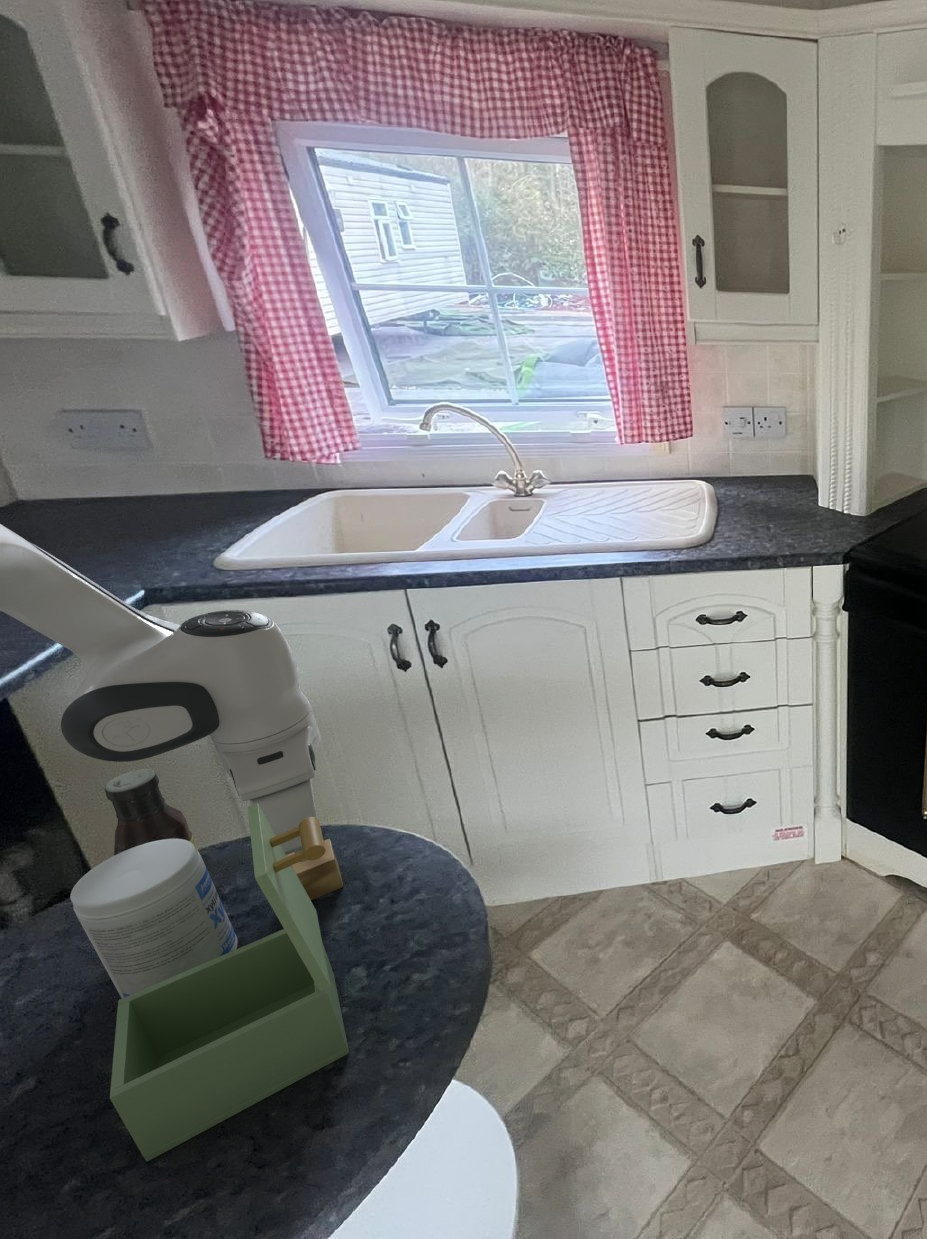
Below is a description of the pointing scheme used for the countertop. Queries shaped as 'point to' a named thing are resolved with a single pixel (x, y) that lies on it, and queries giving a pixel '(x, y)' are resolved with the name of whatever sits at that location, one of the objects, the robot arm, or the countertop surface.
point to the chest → (220, 1041)
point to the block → (319, 873)
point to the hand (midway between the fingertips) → (304, 834)
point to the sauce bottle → (143, 811)
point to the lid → (290, 886)
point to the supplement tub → (152, 914)
